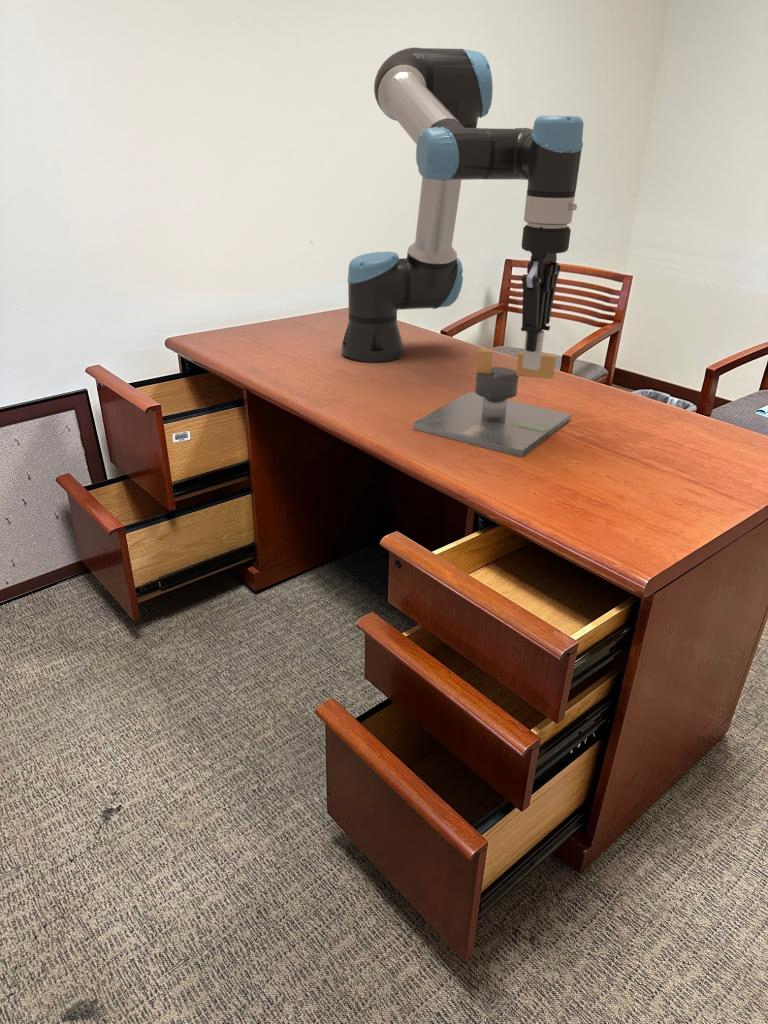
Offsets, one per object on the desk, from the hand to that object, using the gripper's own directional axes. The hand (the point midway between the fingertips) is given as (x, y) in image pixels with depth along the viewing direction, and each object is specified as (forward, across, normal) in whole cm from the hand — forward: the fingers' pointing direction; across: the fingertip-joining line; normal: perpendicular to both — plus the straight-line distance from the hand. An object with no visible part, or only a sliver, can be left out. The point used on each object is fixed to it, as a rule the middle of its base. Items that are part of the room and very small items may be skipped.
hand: (531, 367), depth 129 cm
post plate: (+13, +2, +7) cm, 14 cm away
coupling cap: (+6, +3, +4) cm, 8 cm away
